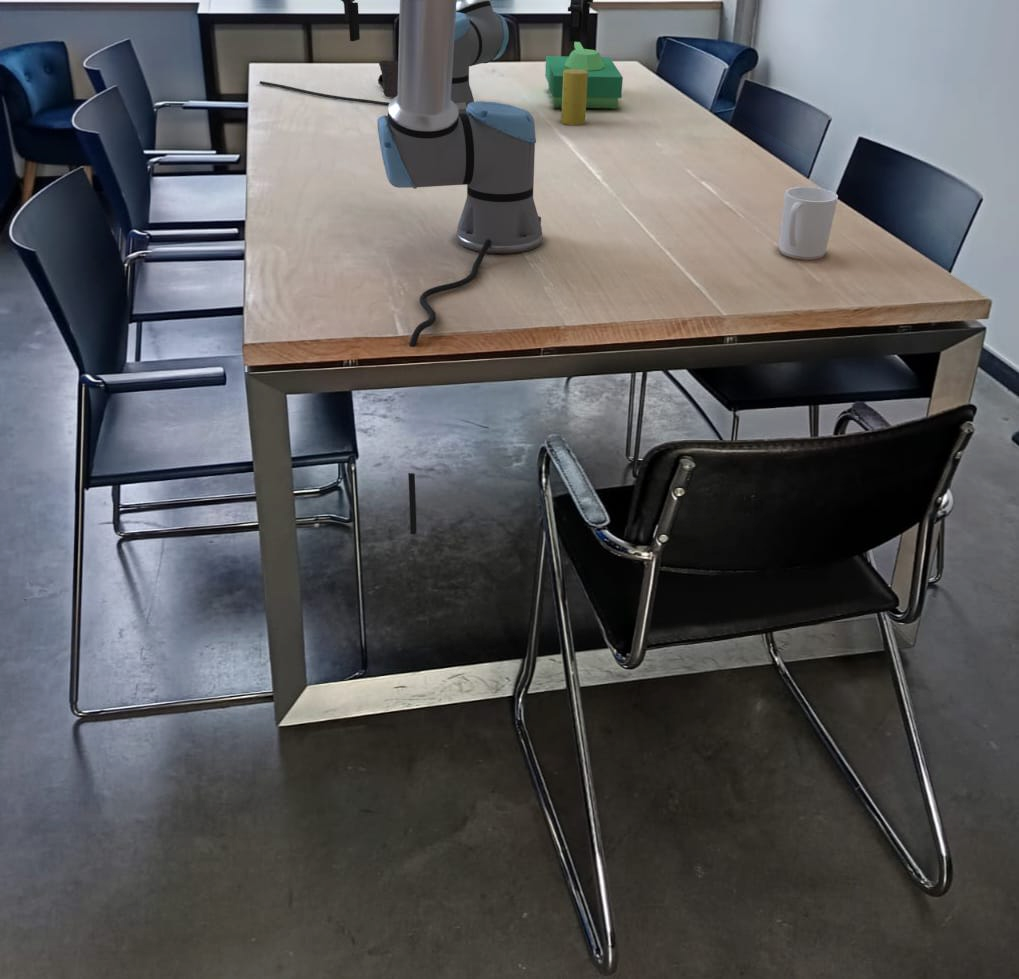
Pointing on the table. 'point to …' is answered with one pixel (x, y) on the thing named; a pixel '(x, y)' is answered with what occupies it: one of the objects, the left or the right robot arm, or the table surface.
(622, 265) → the table surface
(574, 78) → the canister
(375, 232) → the table surface
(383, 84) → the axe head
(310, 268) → the table surface
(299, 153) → the table surface
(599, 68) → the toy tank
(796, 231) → the mug
